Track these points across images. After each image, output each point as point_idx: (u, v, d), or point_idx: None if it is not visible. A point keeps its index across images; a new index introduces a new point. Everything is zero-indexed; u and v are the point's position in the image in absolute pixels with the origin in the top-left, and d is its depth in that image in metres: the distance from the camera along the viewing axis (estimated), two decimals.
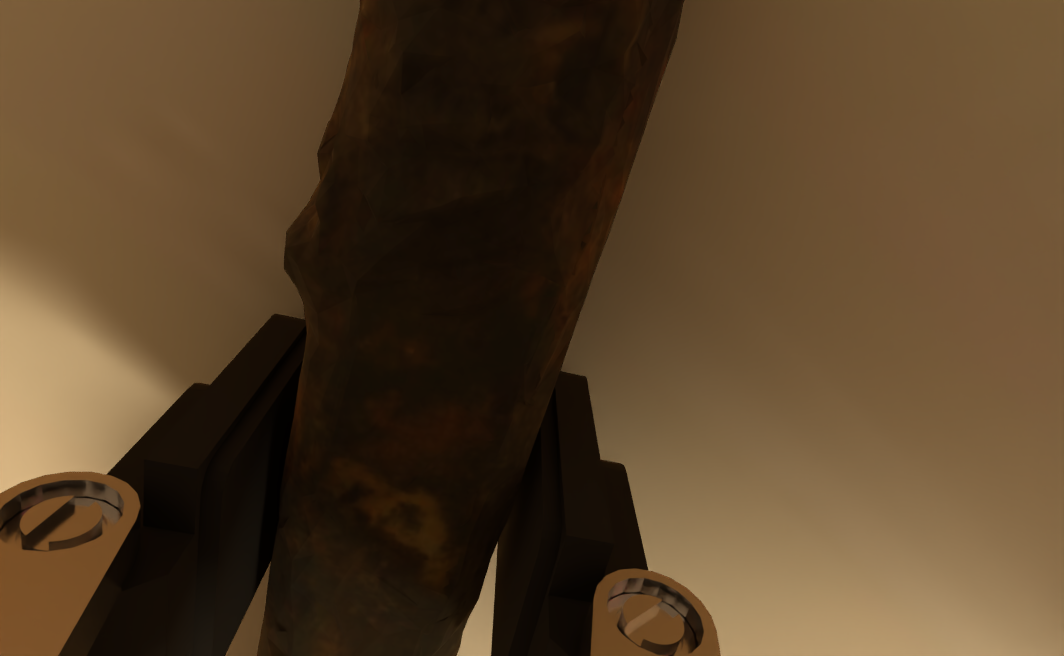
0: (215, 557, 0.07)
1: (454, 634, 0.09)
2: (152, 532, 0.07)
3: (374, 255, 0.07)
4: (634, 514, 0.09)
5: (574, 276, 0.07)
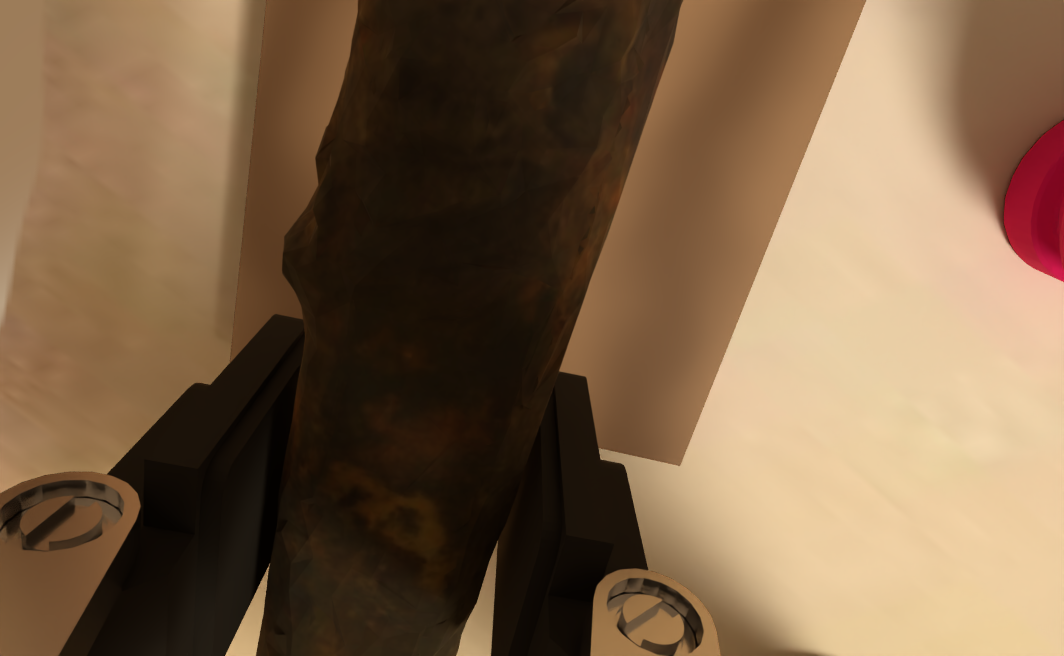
0: (215, 557, 0.07)
1: (453, 637, 0.09)
2: (152, 532, 0.07)
3: (373, 259, 0.07)
4: (634, 514, 0.09)
5: (571, 281, 0.07)
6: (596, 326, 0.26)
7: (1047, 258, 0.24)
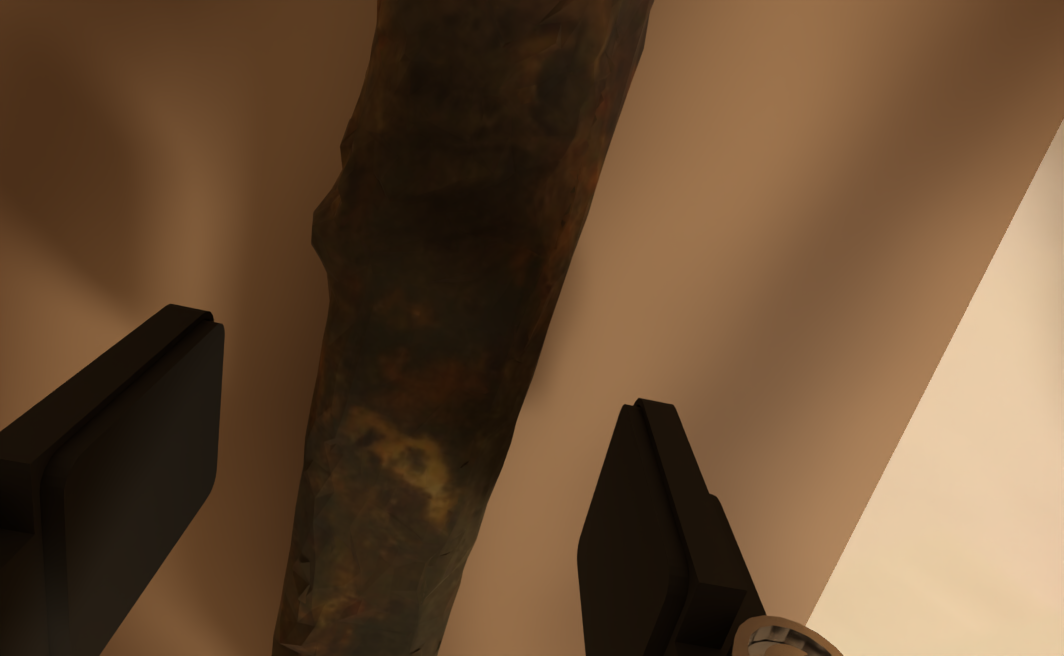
0: (64, 558, 0.07)
1: (455, 571, 0.10)
2: None
3: (387, 230, 0.08)
4: (738, 550, 0.09)
5: (556, 251, 0.08)
6: None
7: None
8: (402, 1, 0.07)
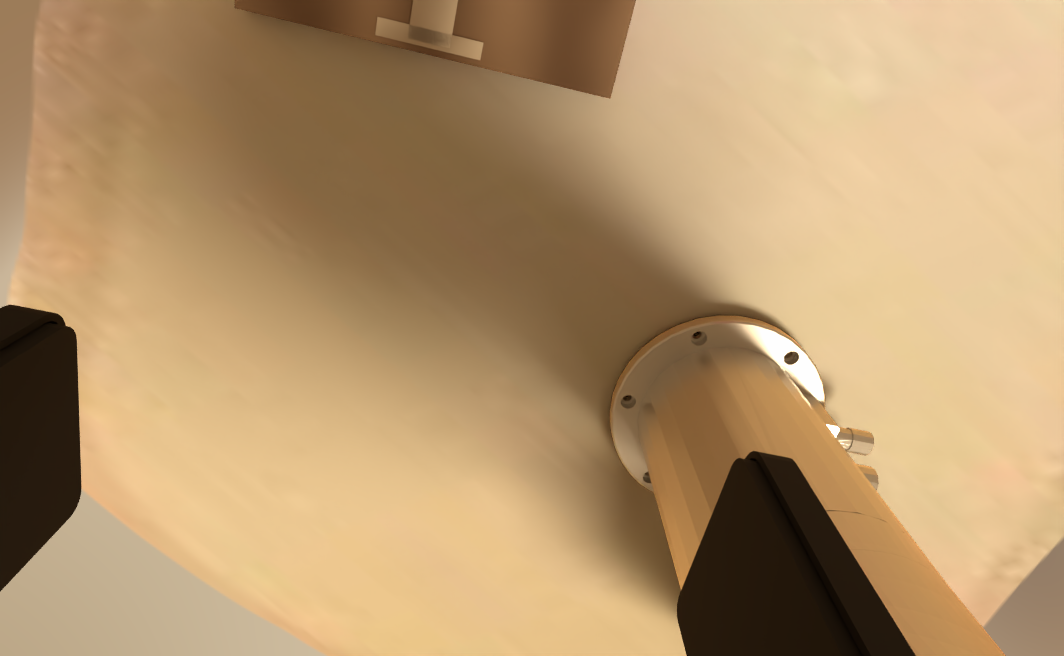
0: None
1: None
2: None
3: None
4: None
5: None
6: None
7: None
8: None
